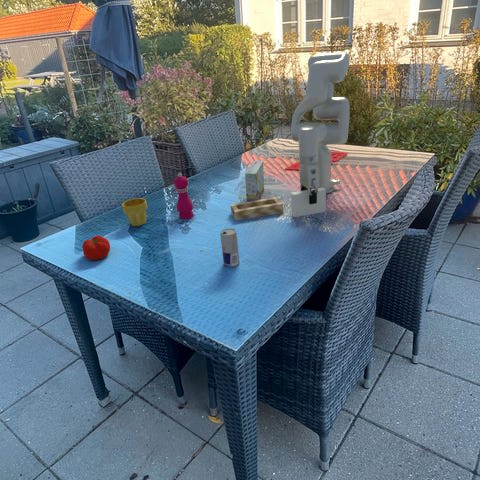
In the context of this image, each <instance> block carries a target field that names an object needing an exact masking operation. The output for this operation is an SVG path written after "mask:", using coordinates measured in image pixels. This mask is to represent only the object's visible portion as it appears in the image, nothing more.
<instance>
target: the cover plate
mask: <svg viewBox="0 0 480 480" xmlns="http://www.w3.org/2000/svg"><path fill="white" fill-rule="evenodd" d="M313 190H314V189H311V191H313ZM309 195H310V192H309V190H304V191H301V190H298V191H293V192H290V198H291V199H290V200H291V201H290V202H291V216H292V217H294V218H298V217H304V216H309V215H314V214H321V213H322V214H323V213H326V206H327V205H326V204H327V203H326V201H327V199H326V197H327V196H326V195H327V194H326V189H324V188H318V192H317V203H316V204H309Z"/></svg>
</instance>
